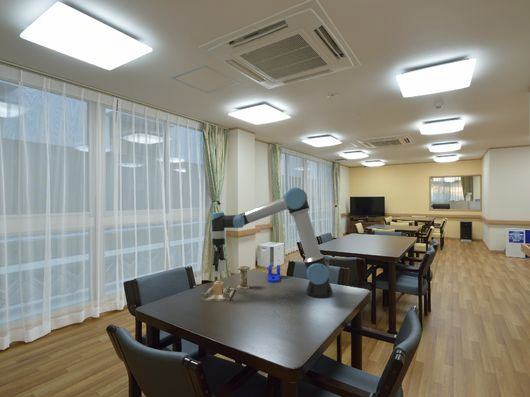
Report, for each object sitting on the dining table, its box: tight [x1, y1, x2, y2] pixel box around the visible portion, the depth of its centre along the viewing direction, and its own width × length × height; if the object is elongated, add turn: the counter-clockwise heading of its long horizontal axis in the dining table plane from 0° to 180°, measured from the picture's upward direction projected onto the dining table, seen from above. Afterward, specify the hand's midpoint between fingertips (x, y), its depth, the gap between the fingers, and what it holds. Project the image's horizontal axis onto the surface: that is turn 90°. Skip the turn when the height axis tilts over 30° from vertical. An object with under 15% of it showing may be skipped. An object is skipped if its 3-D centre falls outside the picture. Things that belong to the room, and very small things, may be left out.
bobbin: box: [236, 265, 251, 290], centre depth 184 cm, size 8×8×13 cm
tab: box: [212, 280, 224, 294], centre depth 170 cm, size 5×5×7 cm
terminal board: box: [200, 284, 236, 302], centre depth 170 cm, size 16×20×4 cm
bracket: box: [266, 264, 281, 284], centre depth 203 cm, size 18×8×9 cm, turn 174°
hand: (219, 273), depth 170 cm, fingers open, 13 cm apart
